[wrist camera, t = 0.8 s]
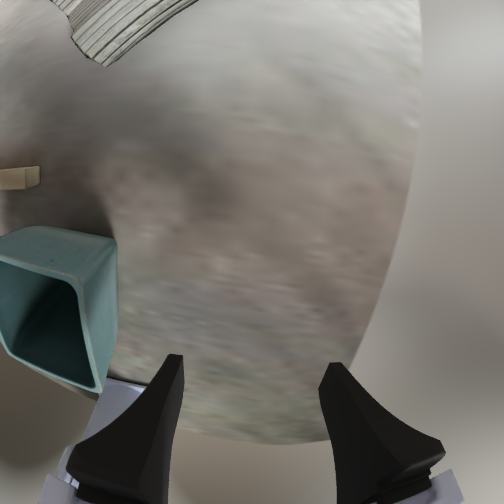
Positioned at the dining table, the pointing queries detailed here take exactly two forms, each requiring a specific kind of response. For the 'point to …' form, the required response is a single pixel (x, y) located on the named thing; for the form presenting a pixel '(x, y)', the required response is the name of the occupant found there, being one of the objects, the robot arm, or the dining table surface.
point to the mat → (116, 24)
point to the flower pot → (60, 302)
